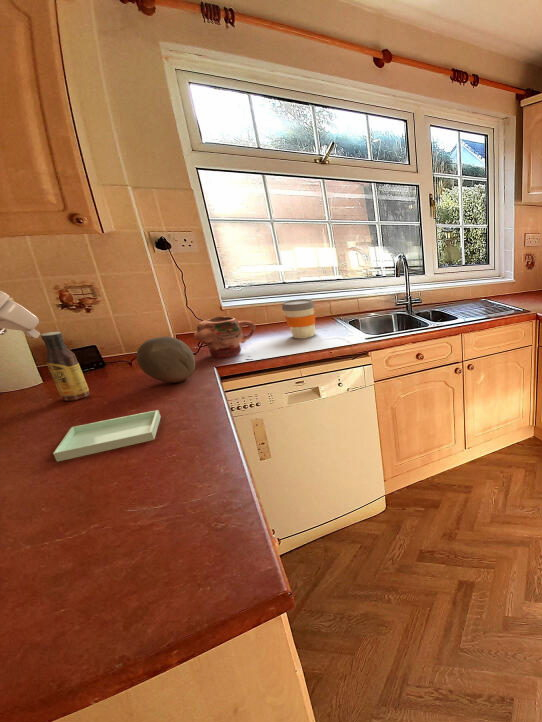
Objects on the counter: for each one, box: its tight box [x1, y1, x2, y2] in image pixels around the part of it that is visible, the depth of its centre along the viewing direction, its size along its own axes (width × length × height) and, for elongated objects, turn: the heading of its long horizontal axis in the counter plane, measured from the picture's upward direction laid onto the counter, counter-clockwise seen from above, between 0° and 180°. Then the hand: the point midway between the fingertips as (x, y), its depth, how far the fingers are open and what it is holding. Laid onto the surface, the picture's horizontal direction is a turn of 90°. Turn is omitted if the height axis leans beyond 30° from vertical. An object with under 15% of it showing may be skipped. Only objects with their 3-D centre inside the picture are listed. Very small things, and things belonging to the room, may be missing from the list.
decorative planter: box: [193, 316, 256, 358], centre depth 162 cm, size 20×12×14 cm, turn 133°
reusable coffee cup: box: [281, 298, 316, 339], centre depth 186 cm, size 13×13×15 cm
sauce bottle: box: [40, 331, 91, 402], centre depth 122 cm, size 7×6×20 cm
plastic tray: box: [52, 409, 162, 463], centre depth 102 cm, size 17×15×2 cm
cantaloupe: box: [136, 336, 196, 384], centre depth 134 cm, size 14×14×15 cm
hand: (19, 334), depth 111 cm, fingers open, 8 cm apart
